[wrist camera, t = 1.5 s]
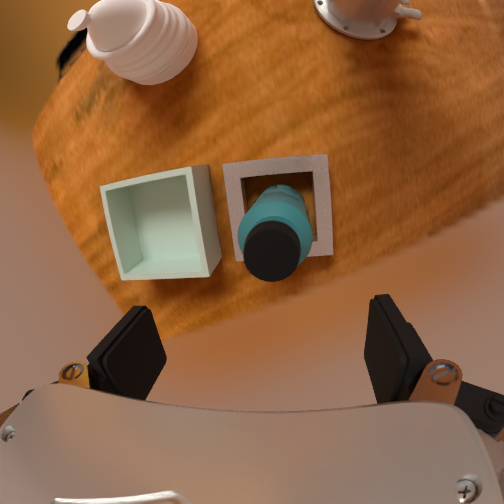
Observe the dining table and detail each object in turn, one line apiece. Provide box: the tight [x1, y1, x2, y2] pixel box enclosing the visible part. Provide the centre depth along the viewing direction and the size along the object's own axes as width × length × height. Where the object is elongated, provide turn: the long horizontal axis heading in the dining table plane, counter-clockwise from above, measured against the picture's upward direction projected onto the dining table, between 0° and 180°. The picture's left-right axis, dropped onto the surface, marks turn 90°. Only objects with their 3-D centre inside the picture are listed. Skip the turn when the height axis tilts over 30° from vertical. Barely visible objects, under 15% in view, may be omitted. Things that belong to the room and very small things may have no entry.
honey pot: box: [68, 0, 198, 85], centre depth 22 cm, size 13×13×18 cm
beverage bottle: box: [238, 184, 313, 282], centre depth 28 cm, size 6×7×20 cm
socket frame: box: [222, 154, 333, 261], centre depth 36 cm, size 13×13×3 cm
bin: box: [100, 164, 222, 280], centre depth 36 cm, size 14×14×7 cm
